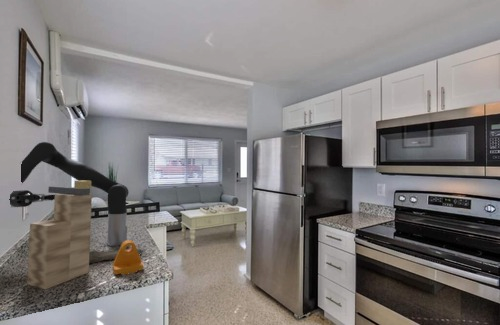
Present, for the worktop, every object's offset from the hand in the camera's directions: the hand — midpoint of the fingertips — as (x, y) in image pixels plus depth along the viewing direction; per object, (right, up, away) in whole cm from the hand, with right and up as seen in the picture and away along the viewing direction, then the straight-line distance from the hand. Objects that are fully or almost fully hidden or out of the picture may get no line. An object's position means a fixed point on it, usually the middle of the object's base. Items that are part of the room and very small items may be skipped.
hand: (46, 197), depth 112 cm
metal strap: (+17, +3, -9) cm, 19 cm away
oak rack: (+17, -29, -15) cm, 37 cm away
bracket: (+40, -30, -7) cm, 50 cm away
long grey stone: (+21, -31, +6) cm, 38 cm away
